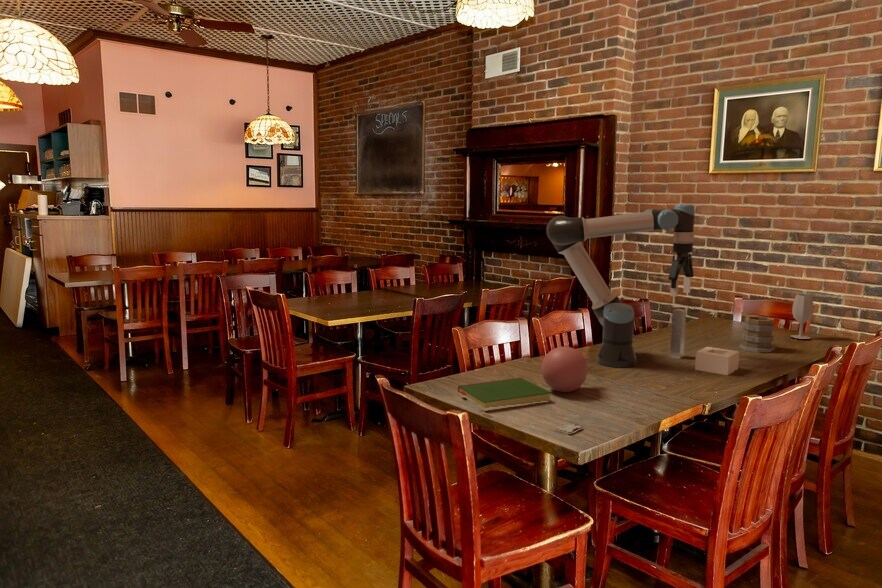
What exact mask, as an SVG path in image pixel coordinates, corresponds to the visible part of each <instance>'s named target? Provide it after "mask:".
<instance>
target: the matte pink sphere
mask: <svg viewBox="0 0 882 588" xmlns="http://www.w3.org/2000/svg"><path fill="white" fill-rule="evenodd" d="M590 360H591V358H590V357H588V356H587V357H584V355H583V354H582V353H581V352H580V351H579V350H577V349H575V348H573V347H570V346H557V347H555V348H553V349H551V350H550V351H548V353H546V355H544V358H543V359H542V363H541V375H542V378H543V380H544V382H545V384H547V385H548V387H549V388H551V389H552V390H555V391H557V392H559V393H560V392H561V393H571V392H573V391H576V390H577V389H579V388H580V387H581V386H582V385H584V383H585V382H586V379H587V376H588V371H589V370H588V363H587V362H590Z"/></svg>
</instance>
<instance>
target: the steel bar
mask: <svg viewBox="0 0 882 588" xmlns="http://www.w3.org/2000/svg"><path fill="white" fill-rule="evenodd" d="M671 315H672V317H671V318H672V320H671V335H670V337H671V338H670V354H669V355H670V356H669V357H670V358H672V359H679V360H680V359H682V357H683V358H684V356H685V339H686V338H685V337H686V336H685V335H686V322H687V321H686V318H687V309H684V308H683V309H682V308H675V309H672V314H671Z"/></svg>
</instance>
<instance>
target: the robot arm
mask: <svg viewBox="0 0 882 588" xmlns="http://www.w3.org/2000/svg"><path fill="white" fill-rule="evenodd" d="M695 217H696V214H695V205H694V204H692V203H691V204H675V206H674V208H672V209H666V208H663V209H661V208H660V209H658V208H657V209H656V208H655V209H654V208H651V209H646V210H645V211H643V212H635V213H628V214H625V213H624V214H620V215H618V214H617V215H609V216H602V217H601V216H600V217H593V218H584V217H583V216H579V217H568V216H566V215H557V216H555V217H553V218H552V219H550V220H549V222H548V223H547V225H546V229H545V231H546V232H545V233H546V237H547V238H548V239H549V241H550V242H551V243H552V245H553V247H554V248H555V250H556V251H557V253H558V254H561V255H563V256H564V258H565V259H566V261H567V263H568V264H569V266H570V268H571V270H572V271H573V273H574V274H575V276H576V277H577V279H578V281H579V283H580V284H581V286H582V287H583V289H584V291H585V292H586V294H587V296H588V297H589V300H590V301H591V302H592V306H591V309H592V312H593V313H594V315H595V316H596V318H597V319H598V322H599V323H600V325H601V326H602V344H601V346H600V349H599V352H598V354H597V358H596V359H597V360H596V361H597V363H598V364H599V365H603V366H605V367H609V368H610V367H613V368H632V367H635V366H637V356H636V355H637V354H636V352H635V350H634V349H635V348H634V346H633V345H634V344H633V342H634V326H635V325H634V319H635V309H634V307H633V306H631V305H630V304H626V303H622V301H621V299H620V297H619V296H618V294H616V293H613V292H611V290H610V288H609V287H608V285H607V284H606V282H605V280H604V278H603V277H602V275H601V274H600V272H599V270H598V268H597V267H596V265H595V263H594V261H593V260H592V259H591V257H590V255H589V254H588V252H587V250H586V249H585V247H584V245H583V242H586V240H588V239H592V238H601V237H608V236H610V237H611V236H617V235H627V234H635V233H645V232H652V231H662V230H665V231H668V230H669V231H670V230H672V229H673V235H672V236H673V237H672V238H673V239H672V241H673V242H674V243H672V252H673V253H676V255H674V254H673V255H672V261H671V266H670V268H669V269H670V270H669V273H668V278H667V279H668V280H669V281H670V291H669V292H670V293H669V296H670V297H675V298H676V297H678V296H679V295H678V294H679V291H678V290H679V280H678V278H679V276H680V273H681V270H683V275H684V276H683V286H682V287H683V288H682V290H683V291H682V293H687V294H690V293H691V287H692V286H691V284H692V278H694V267H693V260H692V259H693V258H692V253H693V250H694V248H693V246H694V244H693V242H694V237H695V234H694V232H695V231H694V228H695Z"/></svg>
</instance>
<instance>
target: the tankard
mask: <svg viewBox="0 0 882 588" xmlns="http://www.w3.org/2000/svg"><path fill="white" fill-rule="evenodd" d="M741 316H742V317H744V322H743V323H742V334H741V339H742V341H743V342H742V343H740V344H739V349H741V348H742V349H741V350H743V349H744V350H743V351H745V350H747V351H746V352H749V351H753V352H752V353H755V352H770V353H773V352H774V351H775V346H773V345H772V343H773V342H774V335H773V331H775V324H774V319H773V318H770V317H767V316H758V315H757V316H754V315H753V316H752V315H749V312H748V311H743V312H742V313H741ZM772 351H773V352H772Z"/></svg>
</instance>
